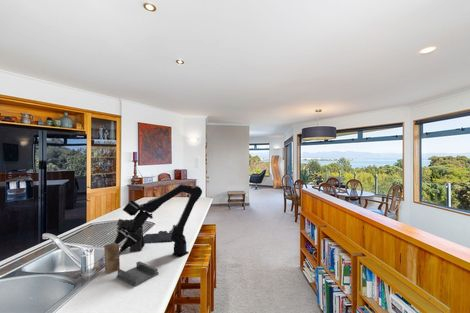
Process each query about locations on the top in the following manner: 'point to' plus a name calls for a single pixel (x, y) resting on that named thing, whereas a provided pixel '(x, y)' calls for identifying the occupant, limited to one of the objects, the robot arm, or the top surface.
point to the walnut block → (112, 258)
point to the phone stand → (138, 245)
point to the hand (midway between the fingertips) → (116, 248)
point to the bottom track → (137, 274)
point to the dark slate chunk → (158, 237)
